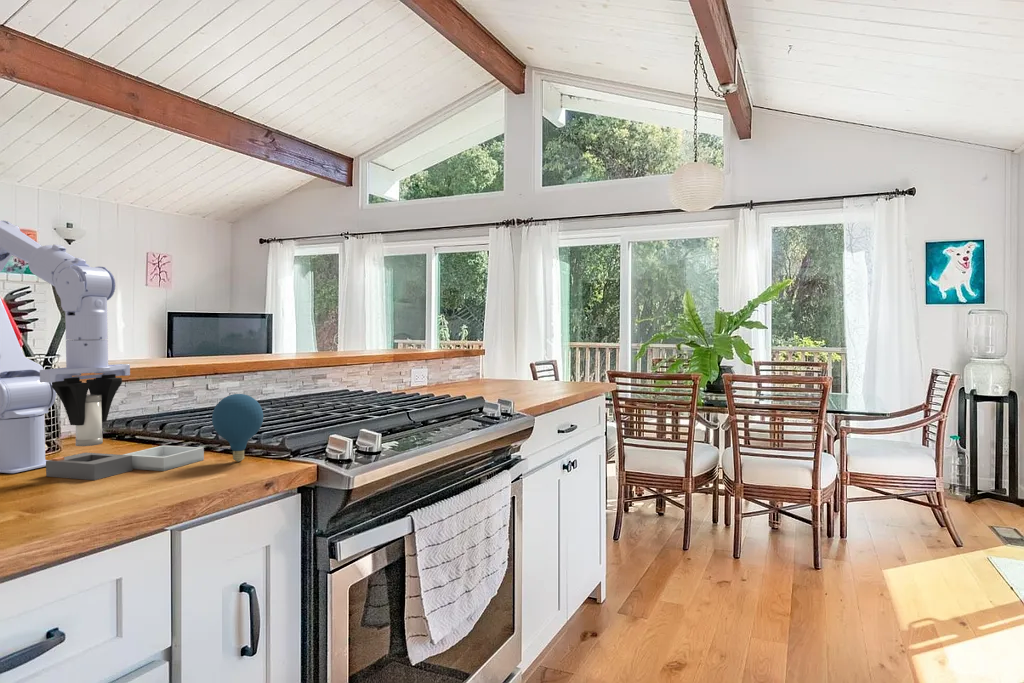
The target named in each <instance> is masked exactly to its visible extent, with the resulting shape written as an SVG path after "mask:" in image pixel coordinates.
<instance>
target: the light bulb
mask: <svg viewBox="0 0 1024 683" xmlns="http://www.w3.org/2000/svg"><path fill="white" fill-rule="evenodd" d="M211 415H212V416H211V424H212V426H213V429H214V431H215V432H216V433H217V434H218V436H219V437H221V438H222V439H224V440H225V441H227V442H228V443H229V446H230V449H231V450H232V459H233V460H234V461H235V462H238V463H239V462H241V461H242V460H243V461H244V460H245V450H246V448H247V444H248V442H249V440H250V439H252V438H253V437H254V436H255V435H256V434H257V433H258V432H259V431H260V428H261V427H262V426H263V422H264V411H263V408H262V406H261V404H260V403H259V402H258V401H257V399H256V398H254V397H252V396H251V395H248V394H244V393H234V394H230V395H228V396H225V397H224V398H222V399H220V401H218V402H217V404H216V405H215V406H214V409H213V411H212V413H211Z"/></svg>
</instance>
